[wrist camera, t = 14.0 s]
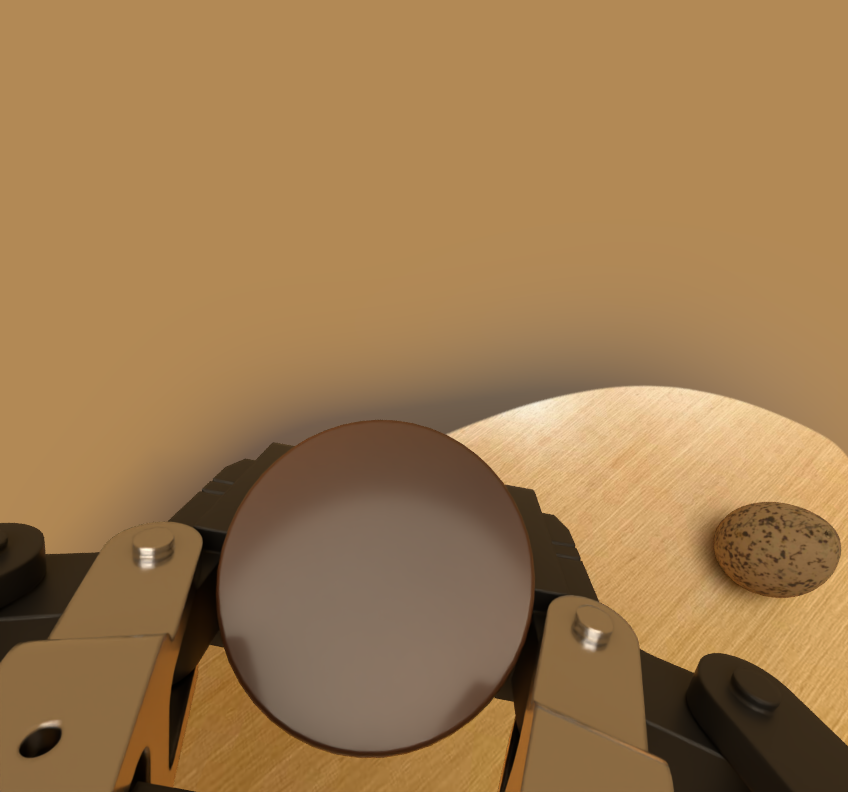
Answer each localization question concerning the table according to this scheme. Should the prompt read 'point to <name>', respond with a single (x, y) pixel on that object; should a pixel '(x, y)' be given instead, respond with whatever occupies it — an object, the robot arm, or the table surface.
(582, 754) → the robot arm
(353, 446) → the brown ridged cylinder
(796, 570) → the decorative egg
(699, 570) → the table surface
